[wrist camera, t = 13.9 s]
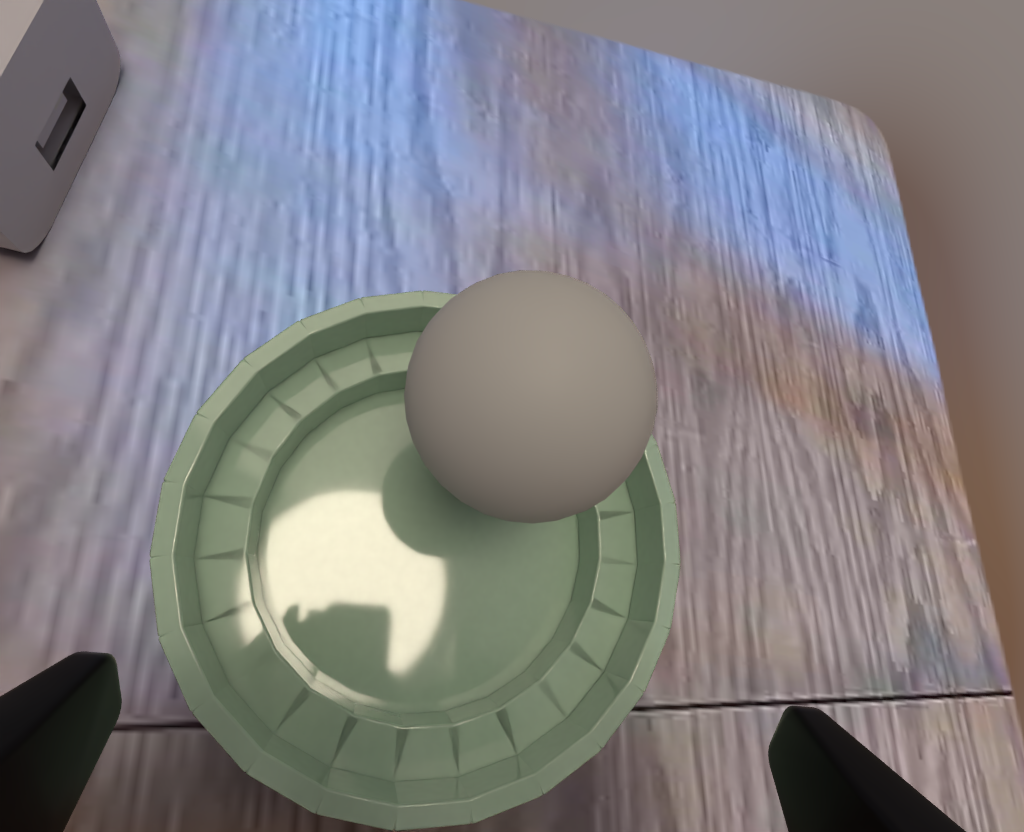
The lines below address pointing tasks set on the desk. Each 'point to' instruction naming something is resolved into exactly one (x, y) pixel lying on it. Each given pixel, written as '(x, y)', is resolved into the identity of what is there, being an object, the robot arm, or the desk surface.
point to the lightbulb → (530, 396)
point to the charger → (48, 107)
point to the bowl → (393, 592)
